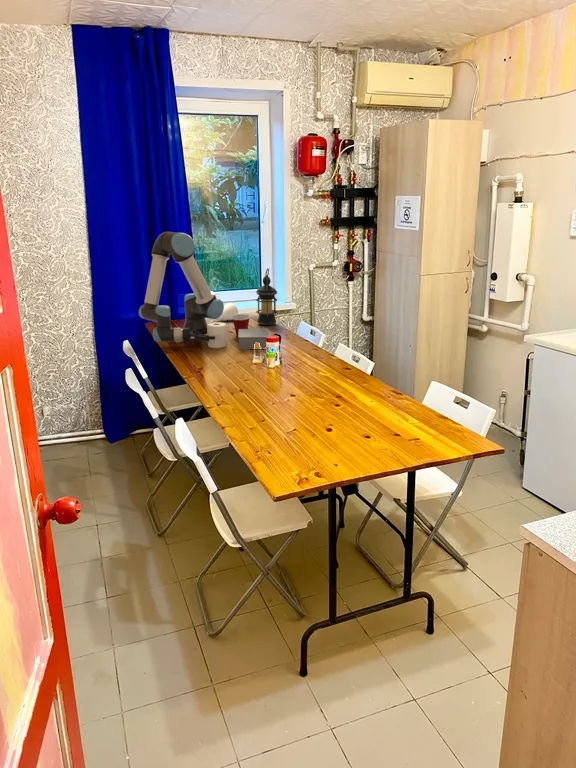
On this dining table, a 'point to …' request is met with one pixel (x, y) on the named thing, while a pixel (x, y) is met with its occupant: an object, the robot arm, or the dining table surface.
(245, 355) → the dining table surface
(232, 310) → the rocket engine
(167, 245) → the robot arm
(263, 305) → the lantern
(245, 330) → the grey box
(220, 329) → the toilet paper
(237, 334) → the plastic cup
